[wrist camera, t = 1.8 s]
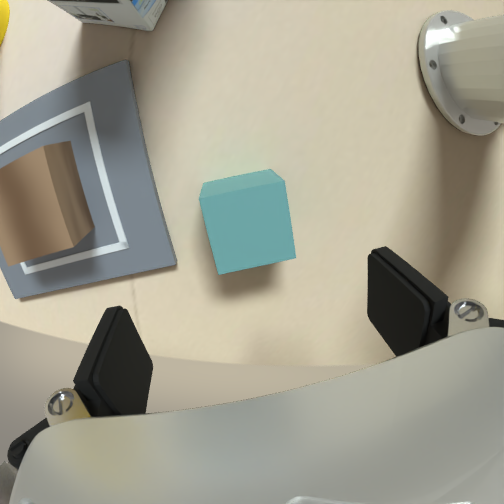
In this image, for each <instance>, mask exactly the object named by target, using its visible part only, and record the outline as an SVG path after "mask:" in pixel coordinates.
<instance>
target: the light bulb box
mask: <svg viewBox="0 0 504 504" xmlns="http://www.w3.org/2000/svg"><path fill="white" fill-rule="evenodd" d="M48 1H50V2H51V3H53V4H54V5H56V6H58V7H59V8H61V9H63V10H64V11H66V12H67V13H69V14H70V15H72V16H73V17H75V18H76V19H78V20H79V21H81V22H84V23H95V24H104V25H113V26H121V27H128V28H134V29H140V30H146V31H152V30H153V29H154V27H155V25H156V23H157V21H158V19H159V17H160V15H161V13H162V11H163V9H164V7H165V5H166V3H167V1H168V0H48Z"/></svg>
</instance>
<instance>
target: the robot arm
mask: <svg viewBox="0 0 504 504" xmlns="http://www.w3.org/2000/svg"><path fill="white" fill-rule="evenodd" d="M419 60H420V66H421V71H422V74H423V77H424V81H425V84H426V86H427V88H428V91H429V93H430V95H431V97H432V99H433V101H434V103H435V104H436V106H437V108H438V109H439V110H440V112H441V113H442V114H443V116H444V117H445V118H446V119H447V120H448V121H449V122H450V123H451V124H452V125H453V126H455V127H456V128H457V129H459V130H461V131H463V132H465V133H467V134H473V135H487V134H490V133H492V132H493V131H495V130H496V129H497V128H498V127H499V126H500V124H501V123H504V15H498V16H492V17H487V18H482V19H477V20H473V19H472V18H470V17H469V16H467V15H465V14H463V13H461V12H458V11H453V10H447V11H441V12H438V13H436V14H434V15H432V16H431V17H429V18H428V19H427V21H426V22H425V23H424V25H423V27H422V30H421V32H420V38H419ZM367 314H368V317H369V320H370V321H371V322H372V324H373V325H374V327H375V328H376V329H377V331H378V332H379V333H380V335H381V336H382V337H383V339H384V340H385V342H386V343H387V344H388V346H389V347H390V348H391V350H392V351H393V353H394V354H395V355H396V357H395V358H392V359H389V360H387V361H384V362H381V363H378V364H375V365H373V366H370V367H367V368H364V369H361V370H358V371H355V372H352V373H349V374H345V375H342V376H339V377H335V378H332V379H329V380H325V381H322V382H318V383H314V384H311V385H307V386H303V387H300V388H296V389H291V390H287V391H283V392H279V393H275V394H270V395H266V396H261V397H256V398H251V399H246V400H241V401H236V402H231V403H225V404H219V405H213V406H206V407H200V408H192V409H185V410H177V411H168V412H158V413H147V414H145V412H146V407H147V400H148V394H149V388H150V382H151V377H152V371H153V364H152V360H151V358H150V356H149V354H148V352H147V350H146V348H145V346H144V344H143V342H142V340H141V338H140V336H139V334H138V332H137V330H136V328H135V325H134V323H133V321H132V319H131V317H130V315H129V312H128V310H127V309H123V308H122V307H121V306H116V307H110V308H107V309H106V310H105V312H104V314H103V316H102V318H101V320H100V322H99V324H98V326H97V328H96V330H95V333H94V335H93V337H92V339H91V341H90V343H89V345H88V348H87V350H86V353H85V354H84V357H83V359H82V361H81V364H80V366H79V368H78V370H77V373H76V375H75V377H74V380H73V381H74V383H75V386H74V389H71V388H63V389H60V390H58V391H55V392H54V393H53V394H52V395H51V396H50V397H49V398H48V399H47V401H46V403H45V407H44V411H45V414H46V418H45V419H44V420H42V421H41V422H40V423H38V424H37V425H35V426H34V427H33V428H31V429H30V430H28V431H27V432H25V433H24V434H22V435H21V436H20V437H18V438H17V439H16V440H14V441H13V442H12V443H11V445H10V447H9V450H8V460H9V462H8V463H6V462H5V461H4V462H3V463H2V465H0V504H504V320H499V319H493V318H488V312H487V309H486V307H485V306H484V305H483V304H481V303H480V302H478V301H476V300H473V299H459V300H456V301H454V302H453V303H452V304H450V303H449V302H448V296H447V295H446V294H444V293H443V292H442V291H441V290H440V289H439V288H437V287H436V286H435V285H434V284H433V283H431V282H430V281H429V280H428V279H427V278H425V277H424V276H423V275H422V274H421V273H419V272H418V271H417V270H416V269H414V268H413V267H412V266H411V265H409V264H408V263H407V262H406V261H404V260H403V259H402V258H401V257H399V256H398V255H397V254H396V253H394V252H393V251H392V250H390V249H389V248H388V247H386V246H385V247H381V248H377V249H373V250H372V252H371V254H369V255H368V303H367Z"/></svg>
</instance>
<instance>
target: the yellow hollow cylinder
mask: <svg viewBox="0 0 504 504" xmlns="http://www.w3.org/2000/svg"><path fill="white" fill-rule="evenodd" d="M9 14H10V10H9V4H8V1H7V0H0V46H1V43H2V41H3V38H4V36H5V33H6V30H7V26H8V22H9Z"/></svg>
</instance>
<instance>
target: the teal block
mask: <svg viewBox="0 0 504 504" xmlns="http://www.w3.org/2000/svg"><path fill="white" fill-rule="evenodd" d="M199 201H200V205H201V209H202V213H203V217H204V221H205V225H206V229H207V233H208V237H209V241H210V245H211V249H212V252H213V256H214V260H215V264H216V267H217V271H218V275H220V274H225V273H229V272H234V271H239V270H244V269H248V268H253V267H258V266H262V265H267V264H271V263H276V262H281V261H285V260H290V259H294V258H296V254H295V246H294V239H293V232H292V226H291V219H290V212H289V206H288V199H287V193H286V187H285V181H284V180H283V179H282V178H281V177H280V176H278V175H277V174H276V173H275V172H274V171H273V170H271V169H268V170H263V171H258V172H253V173H248V174H243V175H238V176H233V177H228V178H224V179H219V180H215V181H210V182H206V183H203V186H202V190H201V193H200V197H199Z"/></svg>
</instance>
